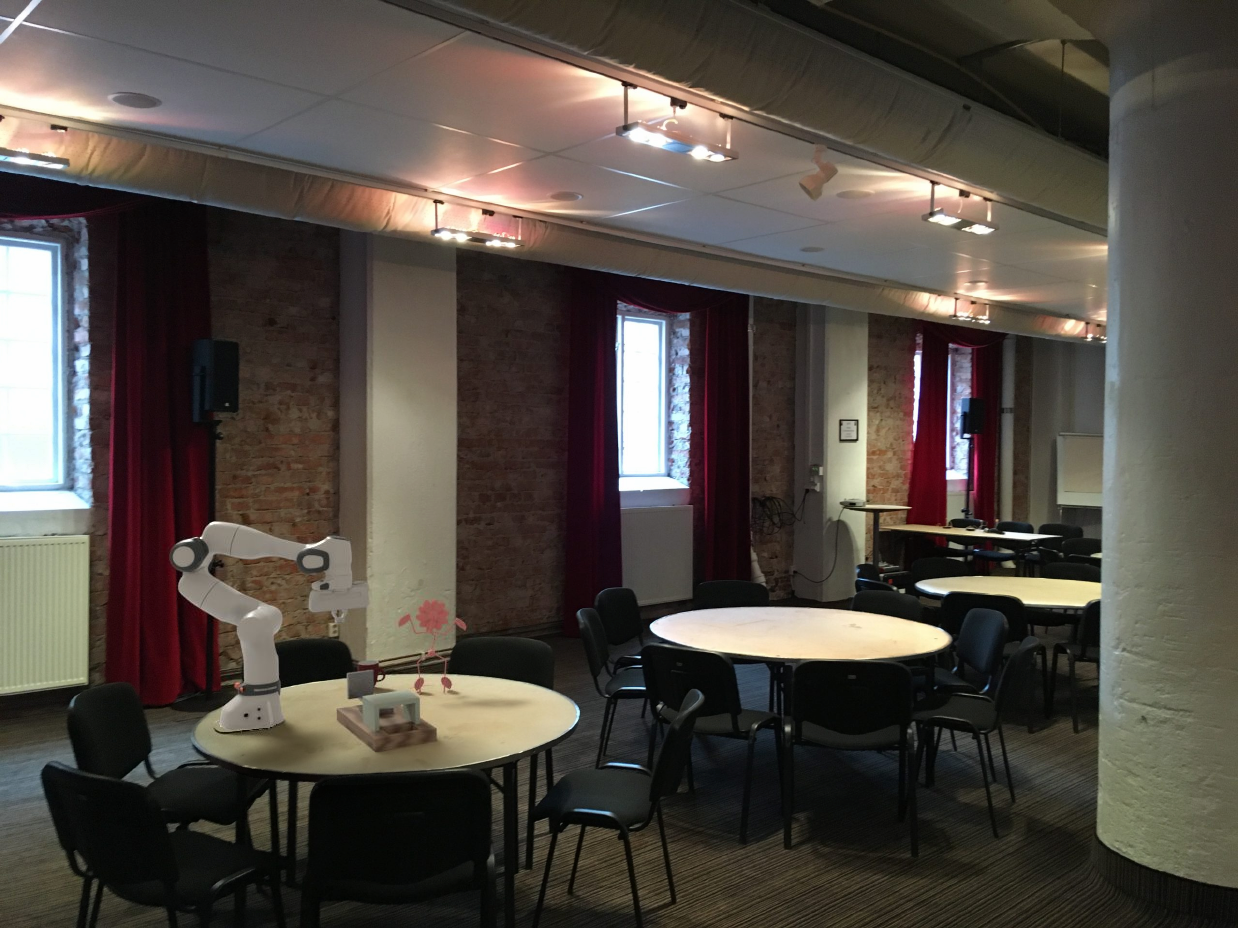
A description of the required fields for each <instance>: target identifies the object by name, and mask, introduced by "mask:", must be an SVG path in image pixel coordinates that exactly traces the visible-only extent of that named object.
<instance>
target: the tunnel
mask: <svg viewBox="0 0 1238 928" xmlns="http://www.w3.org/2000/svg"><path fill="white" fill-rule="evenodd" d="M362 705H363V723H365V724H366V725H367V726H369V727H370V728H371V729H372V730H374V731H379V708H386V707H392V706H398V705H402V706H403V716H404V717H406V718H407V719H409V720H410V721H411V722H413V723H414V724H420V718H421V697H419V696H418V695H416V694H414V693H413V692H411V691H410V690H409V689H403V690H394V691H389V692H383V693H376V694H375V693H374V695H368V696H363V702H362Z"/></svg>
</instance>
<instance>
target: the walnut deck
mask: <svg viewBox="0 0 1238 928" xmlns="http://www.w3.org/2000/svg"><path fill="white" fill-rule="evenodd" d="M360 705H361V704H359V705H351V706H345V707H344V706H343V707H339V708H336V721H337V722H338V723H340V724H341V725H342V726H343V727H344V728H346V730H348V731H349V732H351V734H353V735H354V736H355V737H357V738H358V739H359V740H360V741H362V742H363V743H364V744H365V745H367V747H369V748H370V749H371V750H372V751H374V752H375V753H377V752H383V751H389V750H394V749H400V748H405V747H410V746H415V745H416V746H417V745H421V744H426V743H432V742H437V741H438V736H437V735H438V734H437V733H438V732H437V731H438V729H437V727H435V725H432V724H431V723H429V722H428V721H426V720H424V719H423V718H421V717H420V724H414V723H413V722H411V721H410V720H409V719H407V718H406V717H404V716H403V705H398V706H392V707H394V712H392V713H386V714H380V715H379V731H374V730H372V729H371V728H370V727H369V726H367V725H366V724H365V723H363V713H362V712H361V711H359V706H360Z"/></svg>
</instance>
